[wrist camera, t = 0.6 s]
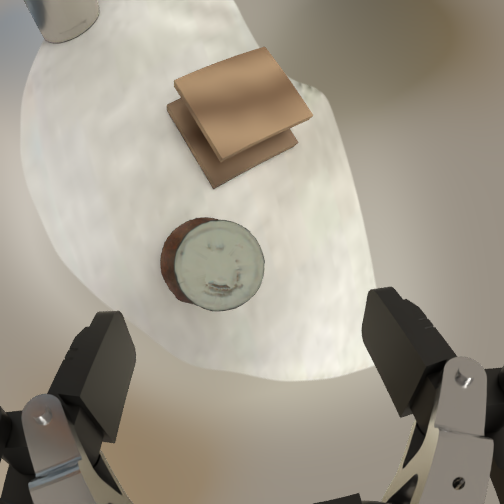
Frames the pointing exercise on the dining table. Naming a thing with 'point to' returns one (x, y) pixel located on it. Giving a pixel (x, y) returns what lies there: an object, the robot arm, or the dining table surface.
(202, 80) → the walnut pedestal
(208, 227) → the sauce bottle
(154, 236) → the dining table surface
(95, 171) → the dining table surface
